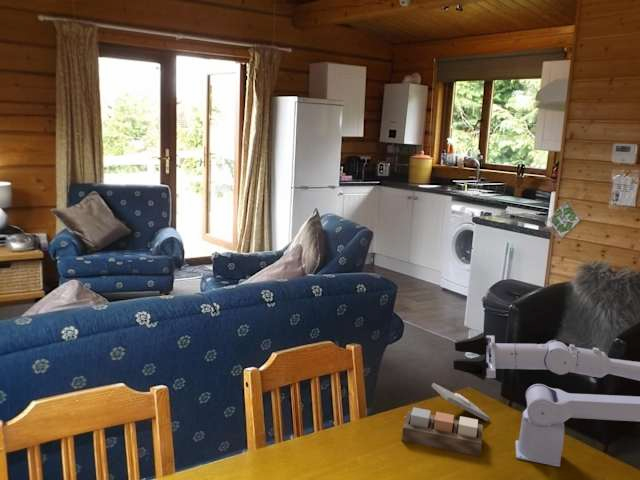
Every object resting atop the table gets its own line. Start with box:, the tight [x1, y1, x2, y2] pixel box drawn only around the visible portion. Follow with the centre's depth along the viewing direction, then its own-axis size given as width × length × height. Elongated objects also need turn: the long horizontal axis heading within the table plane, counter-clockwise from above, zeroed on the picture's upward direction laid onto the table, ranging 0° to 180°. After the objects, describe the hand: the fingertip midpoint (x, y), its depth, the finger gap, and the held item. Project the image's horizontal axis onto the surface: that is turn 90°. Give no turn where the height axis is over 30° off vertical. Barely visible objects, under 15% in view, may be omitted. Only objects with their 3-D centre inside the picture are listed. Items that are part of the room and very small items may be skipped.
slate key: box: [410, 406, 431, 428], centre depth 145 cm, size 4×4×3 cm
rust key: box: [434, 411, 455, 433], centre depth 143 cm, size 4×4×3 cm
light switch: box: [431, 382, 490, 422], centre depth 156 cm, size 8×6×14 cm
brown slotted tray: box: [401, 410, 483, 458], centre depth 144 cm, size 18×9×4 cm, turn 74°
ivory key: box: [458, 416, 479, 438], centre depth 142 cm, size 4×4×3 cm
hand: (454, 355), depth 142 cm, fingers open, 7 cm apart
